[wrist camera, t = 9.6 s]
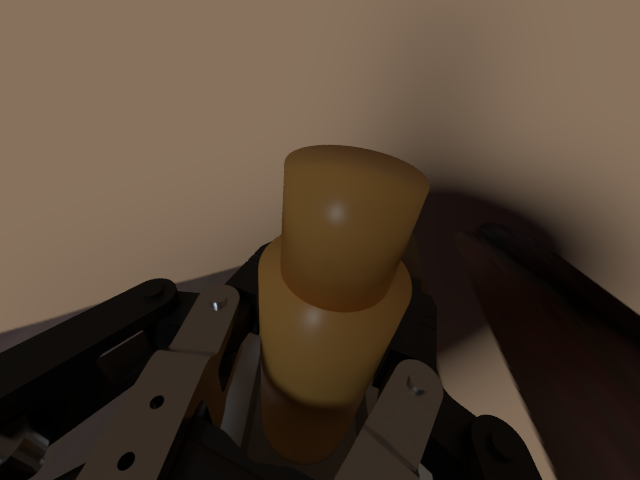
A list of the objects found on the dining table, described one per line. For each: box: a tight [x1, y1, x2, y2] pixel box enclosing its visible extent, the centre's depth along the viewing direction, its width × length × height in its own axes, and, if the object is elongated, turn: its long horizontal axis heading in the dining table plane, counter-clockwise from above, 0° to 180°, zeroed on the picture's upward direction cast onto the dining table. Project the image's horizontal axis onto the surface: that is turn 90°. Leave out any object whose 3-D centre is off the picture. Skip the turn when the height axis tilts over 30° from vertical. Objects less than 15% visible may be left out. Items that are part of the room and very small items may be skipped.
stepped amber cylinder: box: [258, 145, 430, 465], centre depth 10 cm, size 4×4×13 cm
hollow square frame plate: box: [220, 333, 433, 480], centre depth 15 cm, size 14×12×4 cm
